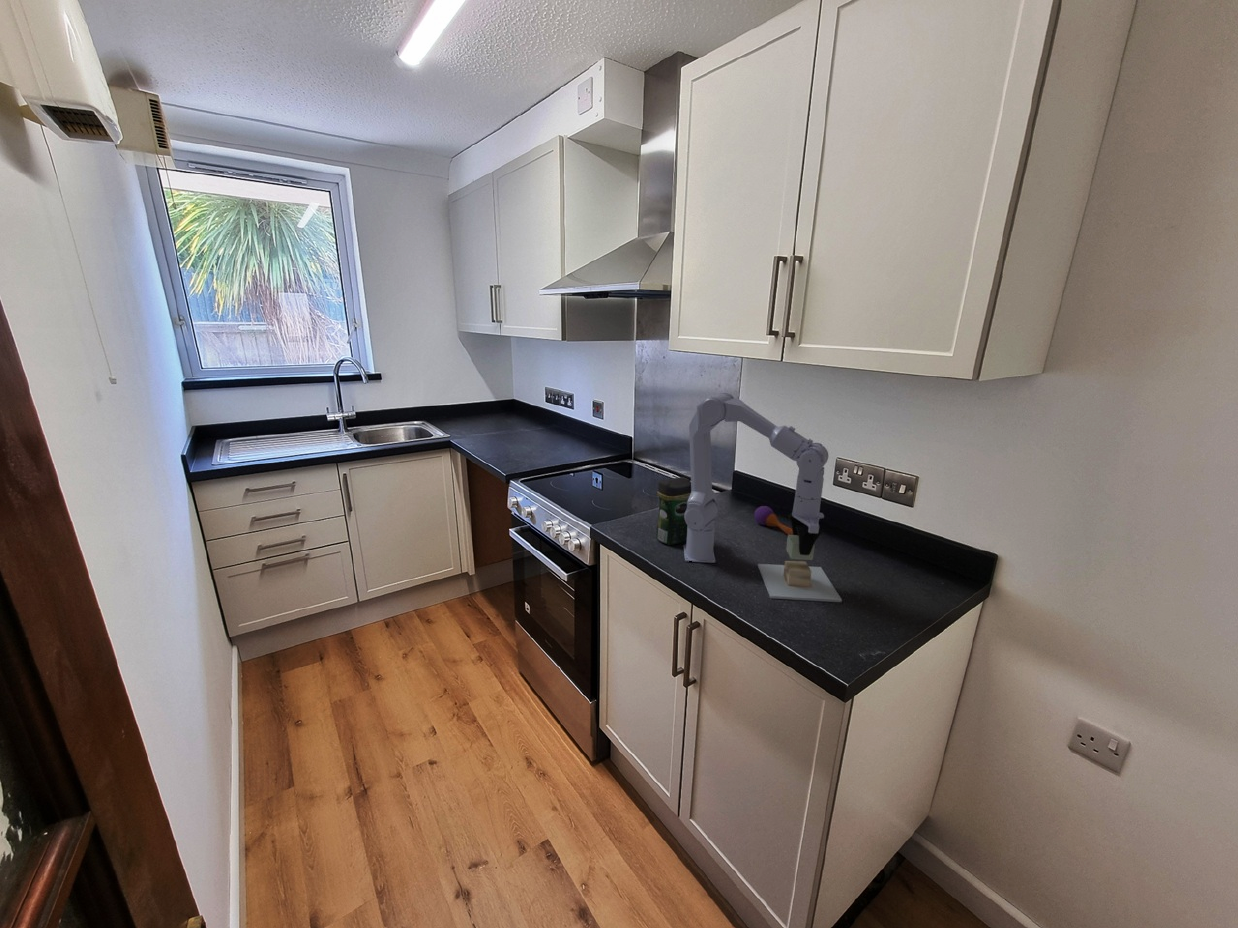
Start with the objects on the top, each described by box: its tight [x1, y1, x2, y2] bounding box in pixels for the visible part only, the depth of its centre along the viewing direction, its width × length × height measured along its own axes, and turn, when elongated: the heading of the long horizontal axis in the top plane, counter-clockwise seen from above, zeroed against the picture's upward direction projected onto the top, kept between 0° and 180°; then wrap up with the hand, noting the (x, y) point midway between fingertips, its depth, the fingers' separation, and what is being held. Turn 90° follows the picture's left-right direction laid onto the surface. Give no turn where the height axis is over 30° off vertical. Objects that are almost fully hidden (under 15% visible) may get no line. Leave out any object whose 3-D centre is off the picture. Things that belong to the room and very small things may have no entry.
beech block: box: [784, 560, 812, 586], centre depth 124 cm, size 5×5×4 cm
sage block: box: [785, 534, 816, 561], centre depth 122 cm, size 5×5×4 cm
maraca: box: [753, 505, 793, 536], centre depth 154 cm, size 6×6×20 cm
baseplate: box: [757, 563, 843, 603], centre depth 124 cm, size 16×16×1 cm
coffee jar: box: [655, 476, 691, 546], centre depth 145 cm, size 10×8×19 cm
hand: (801, 549), depth 122 cm, fingers closed on sage block, 5 cm apart
